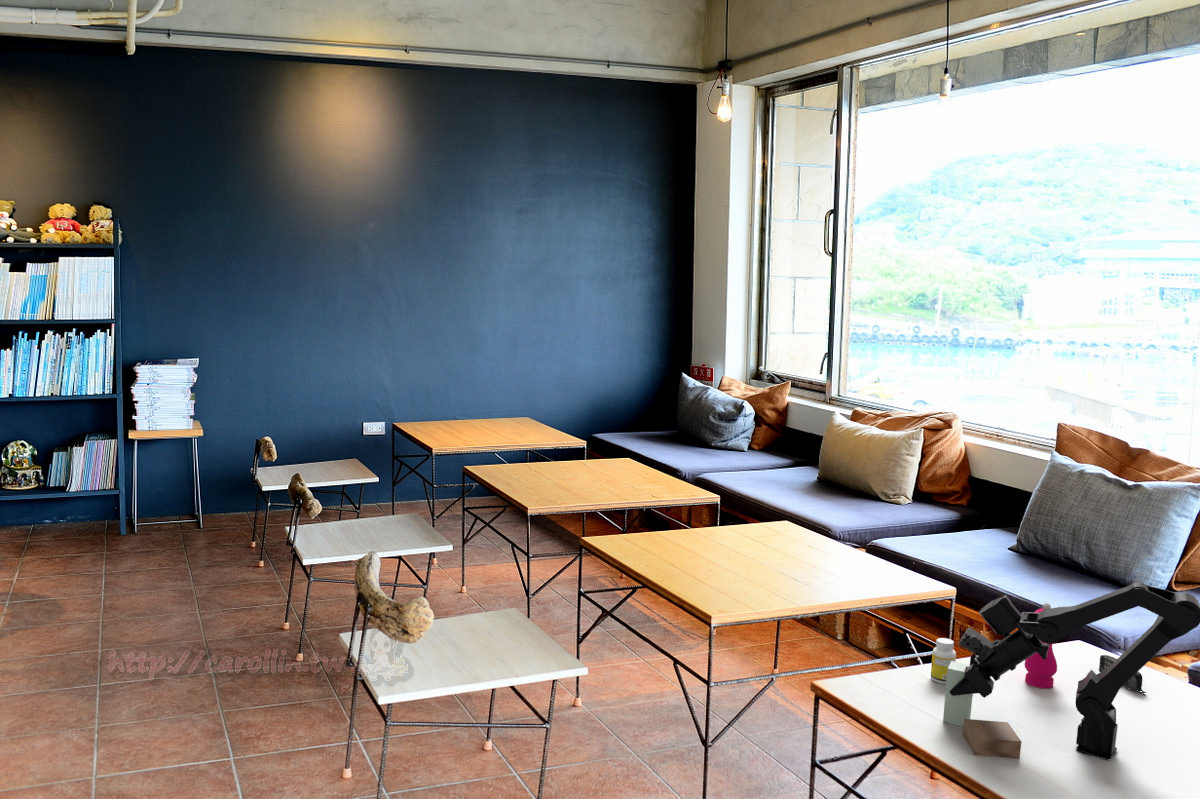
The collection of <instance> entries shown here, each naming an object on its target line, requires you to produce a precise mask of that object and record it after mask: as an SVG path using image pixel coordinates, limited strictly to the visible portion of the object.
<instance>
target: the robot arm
mask: <svg viewBox="0 0 1200 799" xmlns="http://www.w3.org/2000/svg"><path fill="white" fill-rule="evenodd" d="M1136 607H1137V608H1138V607H1139V608H1142V609H1145V610H1147V611H1150V612H1151V613H1153V614H1155V615H1157V617H1156V619H1155V621H1154V623H1153V624H1152V626H1150V627H1149V628H1148V629H1147V630H1146V631H1144V633H1142V634H1141V635H1140V637H1139V638H1138V639H1136V640H1135V641H1134V642H1133V643H1132V644H1131V646H1129V647H1128V648H1127V649H1126V650H1125V651H1124V652H1123V653H1122V654H1120V656H1119V657H1117V658H1116V659H1117V660H1116V661H1115V662H1114V663H1113V664H1112V665H1111V666H1110V667H1109V668H1107V669H1106V670H1105V671H1103V672H1099V673H1095V671H1094V670H1093V669H1090V671H1089V672H1088V673H1087V674H1086V676H1085V677H1084V678H1082V679H1081V680H1078V681H1077V682H1078V683H1077V688H1076V694H1075V703H1074V704H1075V707H1076V710H1077V712H1079V714H1080V715H1081V716H1082V718H1081V720H1080V722H1079V724H1078V725H1077V730H1076V732H1077V733H1076V741H1075V742H1076V745H1077V746H1076V747H1075V748H1076V749H1075V750H1076V751H1077V752H1079V753H1085V754H1088V755H1090V756H1094V757H1097V758H1101V759H1104V760H1107V761H1110V760H1111V759H1112V758H1113V756H1114V755H1115V753H1117V751H1118V747H1116V741H1117V733H1118V727H1119V725H1118V724H1117V708H1116V707H1115V705H1114V704H1113V702H1114V701H1115V699H1116V697H1117V694H1118V693H1119V691H1120V690H1121V688H1122V687H1123V685H1124V684H1125V683H1126V682H1127V681H1128V680H1129V679H1131V678H1132V677H1133V676H1134V675H1135V674H1136V673H1137V672H1139V671H1140V670H1141V669H1142V668H1143V667H1145V666H1146V665H1147V663H1149V662H1150V661H1151V660H1152V659H1153V658H1154V657H1155V656H1156V655H1157V654H1158V653H1159V652H1160V651H1161V650H1162V649H1164V647H1165V646H1167V645H1168V644H1169V643H1170V642H1172V641H1174V640H1176V639H1177V638H1180V637H1183V636H1185V635H1186V634H1188V633H1189V632H1191V631H1193V630H1194V629H1196V628H1197V627H1198V626H1200V602H1199V600H1198V599H1197V598H1196V597H1195V596H1194V595H1192V594H1191V593H1187V592H1174V591H1172V590H1171V591H1170V590H1168V589H1163V588H1159V587H1156V586H1155V587H1154V586H1150V585H1148V584H1145V583H1143V582H1141V581H1140V582H1139V581H1136V582H1132V583H1131V584H1129V585H1127V586H1125V587H1122V588H1119V589H1117V590H1113V591H1112V592H1108V593H1106V594H1103V595H1101V596H1098V597H1094V598H1092V599H1090V600H1087V601H1084V602H1081V603H1079V604H1076V605H1071V606H1070V605H1069V606H1058V607H1053V608H1051V609H1046V610H1043V611H1041V612H1040V613H1034V612H1031V611H1030V612H1027V611H1022V612H1020V611H1019V609H1017V608H1016V606H1015V604H1013V602H1012V601H1011V599H1010V598H1009V597H1008V596H1007V595H1006V594H1004V595H1003V596H1001V597H998V598H995V599H992V600H991V601H990V602H988V603H987V604H985V605H984V606H983V607H982V608H981V609H980V610H979V611H978V614H979V615H980V616H981V618H983V620H984V621H985V622H986V623H987V625H989V627H990V629H992V631H993V632H994V633H995V635H1000V637H1001V636H1004V637H1005V636H1006V637H1005V638H1003V639H995V640H994V641H991V640H990V639H989V638H987V637H986V636H985V635H983V634H982V633H980V632H978V631H976V630H975V629H974V628H972V627H968V628H967V629H966V631H965V632H964V633H963V635H962V637H961V638H960V641H959V642H958V644H959V645H960V647H962V648H963V649H966V650H967V651H969V652H971V655H970V660H969V665H970V666H969V667H967V666H966V668H965V671H964V674H965V676H964V677H963V678H962V679H961V680H960V681H959V682H958V683H957V684H956V685H955V686H954V687H953V688H952V689H951V690H950V691H949V692H950V694H951V695H952V696H956V695H965V694H973V695H974V694H975V695H976V694H979V695H980V696H981V697H982V698H984V699H985V698H987V697H988V696H989V695H991V694H992V692H993V691H994V687H995V686H994V684H995V682H997V681H998V680H1000V679H1001V676H1003V675H1004V674H1005V673H1007V672H1008V671H1011V672H1012V671H1014V670H1016V668H1017V667H1018V665H1019V664H1021V663H1022V662H1025V660H1026V659H1027V658H1029V657H1030V656H1032V655H1034V654H1035V653H1038V654H1039V655H1040V656H1041V657H1042V658H1043V659H1044V660H1046V658H1047V651H1048V649H1049V644H1052V645H1054V644H1057V643H1059V642H1061V641H1062V640H1065V639H1066V638H1068V637H1070V636H1071V635H1072V634H1073V633H1075V632H1076V631H1078V630H1079V629H1080V628H1083V627H1084V626H1086V625H1087V626H1088V625H1089V624H1093V623H1095V622H1097V621H1101V620H1104V619H1107V618H1109V617H1112V616H1115V615H1117V614H1121V613H1123V612H1126V611H1129V610H1131V609H1134V608H1136ZM1010 633H1011V634H1010ZM1007 635H1008V636H1007ZM1040 640H1041V641H1042V642H1041V641H1040ZM1043 642H1044V643H1043ZM1045 643H1047V644H1045ZM991 677H992V678H991Z"/></svg>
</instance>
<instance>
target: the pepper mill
mask: <svg viewBox="0 0 1200 799" xmlns="http://www.w3.org/2000/svg"><path fill="white" fill-rule="evenodd" d="M1051 607H1052V606H1051V604H1050V603H1048V602H1045V603H1043V604H1042V608H1038V609H1036V610H1035V611H1034V612H1033V613H1040V612H1041V611H1043V610H1046V609H1052V608H1051ZM1040 641H1041V640H1040ZM1041 642H1042V641H1041ZM1043 643H1044V642H1043ZM1045 644H1047V643H1045ZM1023 665H1024V668H1025V670H1026V671H1027V672H1026V673H1025V678H1024V679H1025V680H1024V682H1025V683H1026V684H1027V685H1029V686H1030V687H1034V688H1038V689H1044V690H1045V689H1052V688H1054V684H1055V683H1054V682H1055V681H1054V680H1055V679H1054V677H1053V676H1055V674H1056V673H1057V672H1058V664H1057V659H1056V656H1055V654H1054V650H1053V644H1049V649H1048V651H1047V658H1046V660H1044V659H1043V658H1042V657H1041V656H1040V655H1039V654H1038V653H1035V654H1034V655H1032V656H1030V657H1029V658H1027V659H1026V660H1024V664H1023Z"/></svg>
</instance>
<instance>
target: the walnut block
mask: <svg viewBox="0 0 1200 799" xmlns="http://www.w3.org/2000/svg"><path fill="white" fill-rule="evenodd" d="M962 735H963V736H962V737H963V738H964V741H965V742H966V744H967V746H968V747H969V749H970V751H971V752H972V754H973V755H974V756H978V757H992V758H1004V759H1005V758H1006V759H1007V758H1008V759H1016V760H1017V759H1020V758H1021V750H1022V740H1021V739H1020V737H1019V736H1018V734H1016V732H1015V730H1014V729H1013V727H1012V726H1011V724H1010V723H1009V722H1008V721H999V720H998V721H995V720H984V719H971V718H970V719H964V724H963V726H962Z"/></svg>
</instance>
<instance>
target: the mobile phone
mask: <svg viewBox="0 0 1200 799" xmlns="http://www.w3.org/2000/svg"><path fill="white" fill-rule="evenodd" d="M1117 659H1118V658H1116V657H1114V656H1111V655H1107V654H1101V655H1100V657H1099V666H1098V671H1099V673H1101V672H1103V671H1105V670H1106V669H1107V668H1109V667H1110V666H1111V665H1112V664H1113V663H1114V662H1115V661H1116V660H1117ZM1123 686H1125V687H1127V688H1130V689H1129V690H1131V689H1132V690H1131V691H1136V690H1138V691H1142V692H1143V693H1147V692H1146V691H1144V690H1143V689H1142V688H1143V675H1142V673H1140V672H1139V671H1138V672H1137V673H1136V674H1135V675H1134V676H1133V677H1132V678H1131V679H1129V680H1128V681H1127V682H1126V683H1125V684H1124V685H1123ZM1123 686H1122V687H1123ZM1125 687H1124V688H1125ZM1127 688H1126V689H1127ZM1138 691H1137V692H1138Z"/></svg>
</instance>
